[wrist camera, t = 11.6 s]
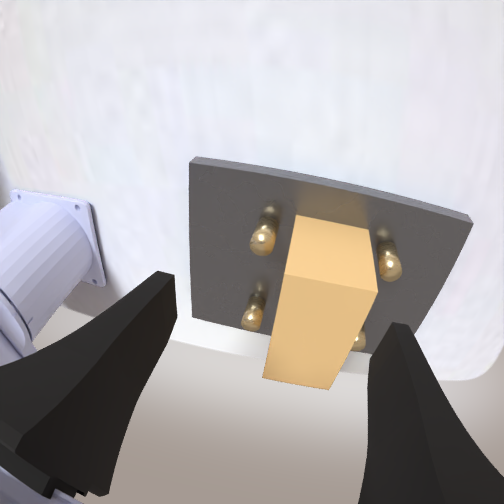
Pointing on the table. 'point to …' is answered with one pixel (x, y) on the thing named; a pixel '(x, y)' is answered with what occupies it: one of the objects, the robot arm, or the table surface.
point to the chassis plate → (279, 238)
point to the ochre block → (321, 302)
